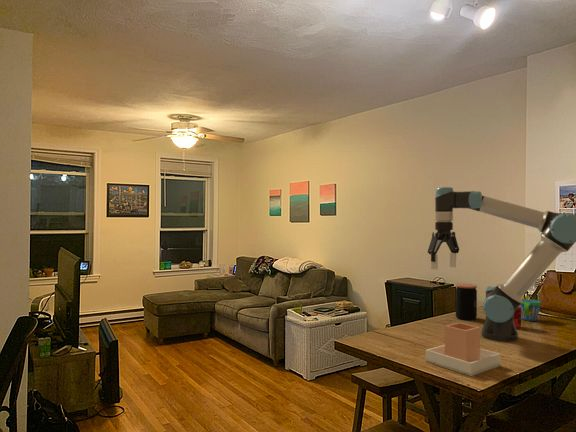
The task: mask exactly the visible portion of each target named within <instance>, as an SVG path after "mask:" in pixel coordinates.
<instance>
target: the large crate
mask: <svg viewBox="0 0 576 432" xmlns="http://www.w3.org/2000/svg"><path fill="white" fill-rule="evenodd" d="M425 362H426V363H428V364H432V365H435V366H437V367H441V368H444V369H447V370H449V371H450V370H451V371H452V372H456V373H459V374H463V375H465V376H468V377H474V376H477V375H479V374H482V373H485V372H488V371H489V370H490V371H491V370H493V369H496V368H498V367H501V353H498V352H496V351H491V350H487V349H483V348H481V347H480V359H479V360H476V361H473V362H467V361H463V360H460V359H457V358H453V357H450V356H447V355H445V344H442V345H438V346H435V347H431V348H427V349H425Z"/></svg>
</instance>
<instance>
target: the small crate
mask: <svg viewBox="0 0 576 432" xmlns="http://www.w3.org/2000/svg"><path fill="white" fill-rule="evenodd" d="M444 345H445V355H447V356H450V357H453V358H457V359H460V360H463V361H467V362H473V361H476V360H479V359H480V348H481V327H480V326H476V325H471V324H468V323H467V324H466V323H464V322H454V323H451V324H447V325H444Z"/></svg>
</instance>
